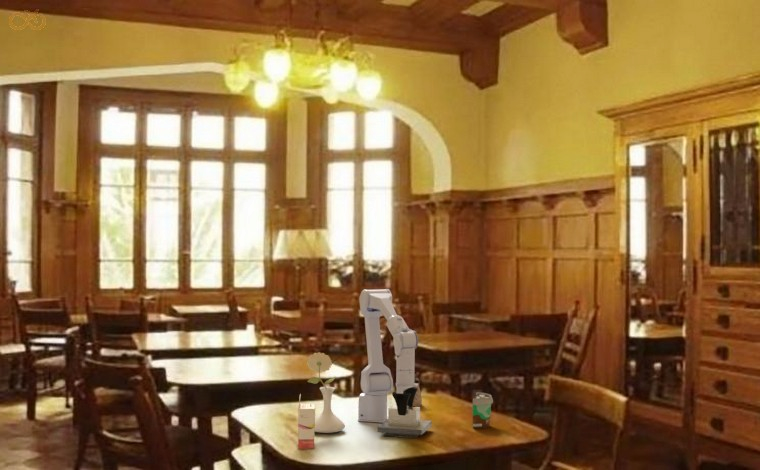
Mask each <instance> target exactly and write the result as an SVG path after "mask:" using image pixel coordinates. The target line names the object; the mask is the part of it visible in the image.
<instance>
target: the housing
mask: <svg viewBox="0 0 760 470" xmlns="http://www.w3.org/2000/svg"><path fill="white" fill-rule="evenodd" d="M387 417H388V425H402V426H418V425H419V424H420V420H421V406H415V407H408V405H407V411H406V415H405V416H404V415H399V414H398V410H397V405H392V406H390V407H389V408H388V407H387Z"/></svg>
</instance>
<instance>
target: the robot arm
mask: <svg viewBox="0 0 760 470" xmlns="http://www.w3.org/2000/svg"><path fill="white" fill-rule="evenodd" d="M359 308H360V314H361V315H362V316H363V317H364V325H365V326H364V327H365V328H364V329H365V338H366V350H367V361H368V365H366V367H364V368H363V369H362V370H361V376H360V389H361V391H362V392H361V393H360V394H359V397H358V407H357V408H358V413H357V414H358V418H357V421H358V422H365V423H366V422H368V423H380V424H382V423H384V422H385V421H386V420H388V395H389V394H390V392H391V391H392V389H393V387H394V380H393V379H394V378H393V376H392V373H391V369H390V368H389V367H388V366H386V365H385V364H384V360H383V359H384V357H383V347H382V334H381V324H380V318H381V316H384V318H385V319H386V327H387V329H388V331H389V332H390V334H391V335H392V338H393V340H392V344H393V348H394V354H395V355H396V360H395V361H396V366H395V367H396V369H395V370H396V371H395V372H396V373H395V376H396V379H395V381H396V382H395V387H396V391H393V392H392V393H391V395H392V397H393V399H394V402H395V406H397V410H398V414H399V415H404V416H405V415H406V411H407V405H408V407H412V406H413V401H414V397H415V394H416V392H417V390H418V388H417V386H418V383H416V382H415V383H416V384H415V383H414V374H415V368H416V367H415V366H416V364H415V361H416V359H415V358H416V357H415V355H416V354H415V350H416V349H417V348H418V345H419V337H418V334H417V331H415V330H412V329H411V328H409V326H408V325H407V322H406V321H405V320H404V318H403V316H401V315H398V314H397V312H396V310H395V308H394V306H393V295H392V292H391V290H390V289H389V288H385V289H365V288H364V289H363V290H361V292H360V295H359Z"/></svg>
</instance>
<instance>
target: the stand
mask: <svg viewBox="0 0 760 470" xmlns="http://www.w3.org/2000/svg"><path fill="white" fill-rule="evenodd" d="M432 423H433V422H432V420H427V419H426V420H425V419H423V420H422V419H420V424H419V425H418V426H402V425H388V420H386V421H385V422H384V423H380V425H378V426H377V432H378V433H385V434H384V435H385V436H386V437H395V436H397V438H408V439H409V438H411V439H417V438H418V437H420V436H422V435H423V434H425V433H426V431H428V429H430V427H432V425H433V424H432Z"/></svg>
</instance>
